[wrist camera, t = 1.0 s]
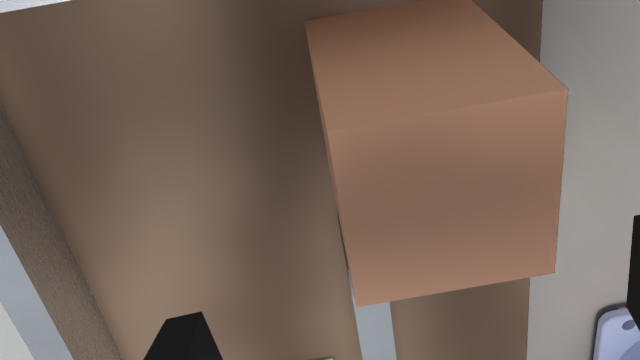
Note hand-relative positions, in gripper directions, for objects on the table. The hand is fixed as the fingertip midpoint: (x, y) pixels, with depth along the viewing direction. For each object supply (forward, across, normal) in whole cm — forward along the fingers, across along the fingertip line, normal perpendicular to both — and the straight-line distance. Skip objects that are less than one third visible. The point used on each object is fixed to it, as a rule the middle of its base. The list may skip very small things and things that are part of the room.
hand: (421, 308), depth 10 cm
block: (+8, -1, -1) cm, 8 cm away
